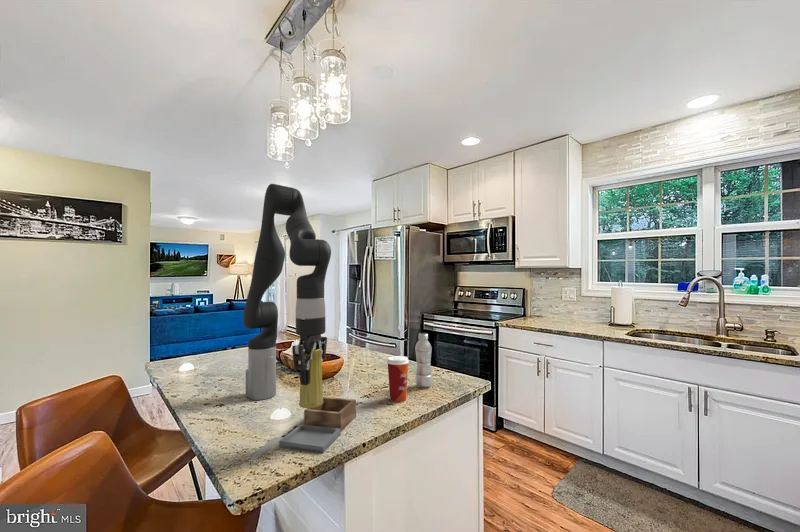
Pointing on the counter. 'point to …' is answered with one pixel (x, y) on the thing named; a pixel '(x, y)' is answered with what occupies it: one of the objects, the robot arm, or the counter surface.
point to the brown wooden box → (331, 413)
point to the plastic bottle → (423, 361)
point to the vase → (313, 383)
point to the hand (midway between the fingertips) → (310, 380)
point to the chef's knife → (270, 444)
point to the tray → (310, 438)
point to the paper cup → (398, 377)
